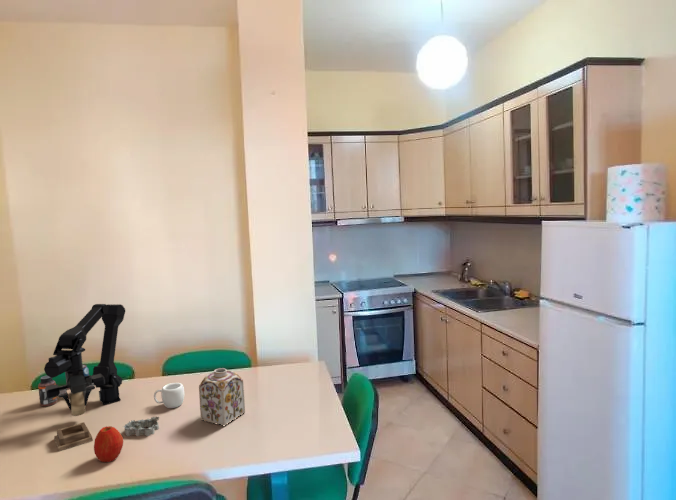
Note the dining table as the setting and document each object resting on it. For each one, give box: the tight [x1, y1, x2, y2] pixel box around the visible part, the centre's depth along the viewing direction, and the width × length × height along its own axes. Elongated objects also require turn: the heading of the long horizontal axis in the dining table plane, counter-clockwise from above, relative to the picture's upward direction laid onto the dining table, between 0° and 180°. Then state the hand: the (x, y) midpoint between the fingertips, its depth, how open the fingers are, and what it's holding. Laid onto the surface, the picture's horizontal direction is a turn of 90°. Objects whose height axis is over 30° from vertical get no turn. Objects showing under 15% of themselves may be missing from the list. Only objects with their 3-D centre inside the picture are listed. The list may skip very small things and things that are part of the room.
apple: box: [93, 425, 124, 463], centre depth 145 cm, size 8×8×11 cm
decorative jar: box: [198, 367, 246, 426], centre depth 170 cm, size 12×12×18 cm
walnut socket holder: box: [53, 422, 94, 452], centre depth 157 cm, size 10×10×3 cm
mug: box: [153, 382, 185, 409], centre depth 182 cm, size 12×8×8 cm
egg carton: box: [122, 416, 160, 437], centre depth 162 cm, size 11×8×4 cm
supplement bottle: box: [37, 375, 58, 407], centre depth 187 cm, size 6×6×11 cm
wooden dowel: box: [68, 391, 86, 417], centre depth 170 cm, size 4×4×8 cm
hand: (77, 407), depth 170 cm, fingers closed on wooden dowel, 4 cm apart
